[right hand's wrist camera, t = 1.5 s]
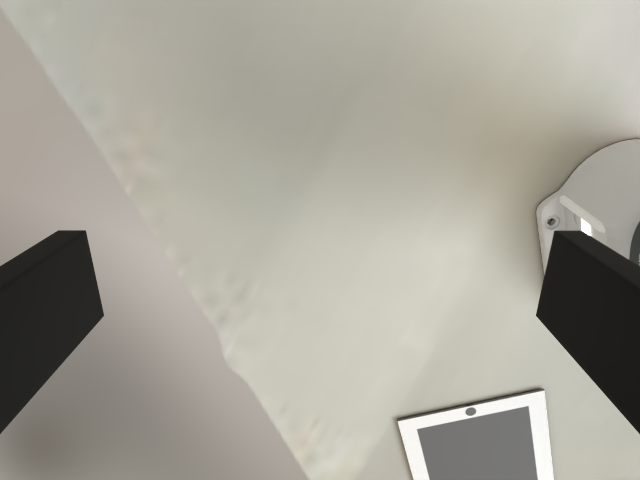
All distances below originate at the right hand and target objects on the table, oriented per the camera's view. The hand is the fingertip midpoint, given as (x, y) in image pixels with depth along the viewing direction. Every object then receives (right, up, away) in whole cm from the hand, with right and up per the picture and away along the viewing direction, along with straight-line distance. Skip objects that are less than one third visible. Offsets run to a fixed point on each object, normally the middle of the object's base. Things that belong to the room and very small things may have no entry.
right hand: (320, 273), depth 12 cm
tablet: (+25, -36, +53) cm, 68 cm away
